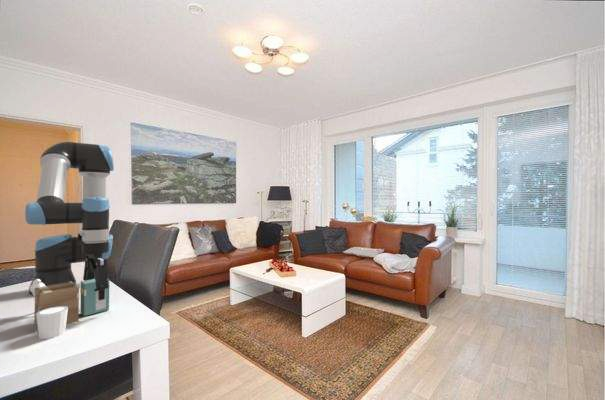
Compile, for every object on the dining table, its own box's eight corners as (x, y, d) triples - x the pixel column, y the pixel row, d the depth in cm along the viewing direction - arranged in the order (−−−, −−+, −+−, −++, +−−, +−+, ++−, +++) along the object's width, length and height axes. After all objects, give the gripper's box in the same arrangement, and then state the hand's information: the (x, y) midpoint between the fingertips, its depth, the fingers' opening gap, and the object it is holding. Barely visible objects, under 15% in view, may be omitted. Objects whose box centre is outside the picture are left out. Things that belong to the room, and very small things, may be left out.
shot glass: (49, 329, 82) (49, 305, 82) (74, 328, 82) (74, 305, 82) (28, 340, 75) (29, 315, 75) (55, 339, 75) (55, 314, 75)
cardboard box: (34, 322, 86) (34, 287, 86) (71, 313, 93) (71, 281, 93) (40, 331, 80) (40, 293, 80) (78, 320, 87) (79, 286, 87)
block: (80, 312, 93) (80, 281, 93) (104, 306, 99) (104, 276, 99) (84, 316, 90) (84, 283, 90) (109, 309, 96) (109, 279, 96)
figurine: (46, 315, 91) (47, 279, 91) (29, 319, 88) (29, 282, 88) (46, 309, 96) (46, 275, 96) (29, 312, 93) (29, 277, 94)
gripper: (72, 239, 99) (72, 300, 99) (92, 246, 84) (92, 317, 84) (97, 237, 105) (97, 294, 104) (120, 243, 90) (119, 309, 90)
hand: (95, 304), depth 94 cm, fingers open, 11 cm apart
